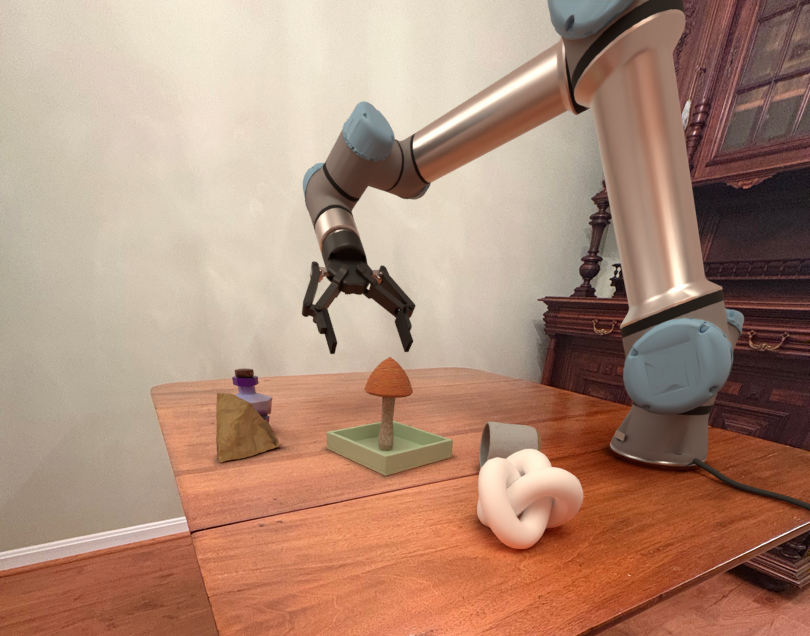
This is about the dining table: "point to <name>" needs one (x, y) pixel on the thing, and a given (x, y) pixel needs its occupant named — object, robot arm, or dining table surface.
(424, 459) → the tray
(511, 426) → the ceramic mug
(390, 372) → the mushroom
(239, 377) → the potion bottle
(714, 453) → the dining table surface
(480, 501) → the white knot sculpture
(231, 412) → the rock
